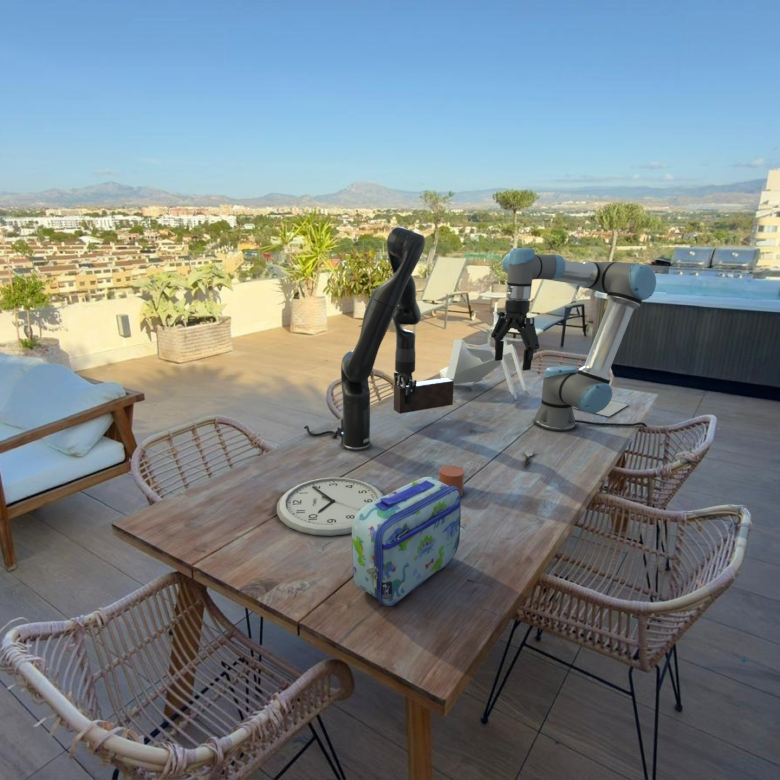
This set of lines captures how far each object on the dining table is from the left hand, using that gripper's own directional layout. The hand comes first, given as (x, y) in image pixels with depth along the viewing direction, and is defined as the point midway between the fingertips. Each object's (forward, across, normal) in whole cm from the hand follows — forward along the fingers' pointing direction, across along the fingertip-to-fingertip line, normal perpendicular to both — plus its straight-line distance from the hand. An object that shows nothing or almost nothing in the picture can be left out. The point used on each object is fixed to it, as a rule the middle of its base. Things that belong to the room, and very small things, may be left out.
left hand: (404, 401), depth 200 cm
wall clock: (+9, +46, -48) cm, 67 cm away
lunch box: (+9, +82, -44) cm, 94 cm away
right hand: (-22, +38, +19) cm, 47 cm away
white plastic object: (+9, -21, +52) cm, 56 cm away
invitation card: (+9, +18, +88) cm, 90 cm away
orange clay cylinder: (+9, +54, -14) cm, 57 cm away
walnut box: (+3, 0, +9) cm, 9 cm away
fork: (+9, +47, +21) cm, 52 cm away
